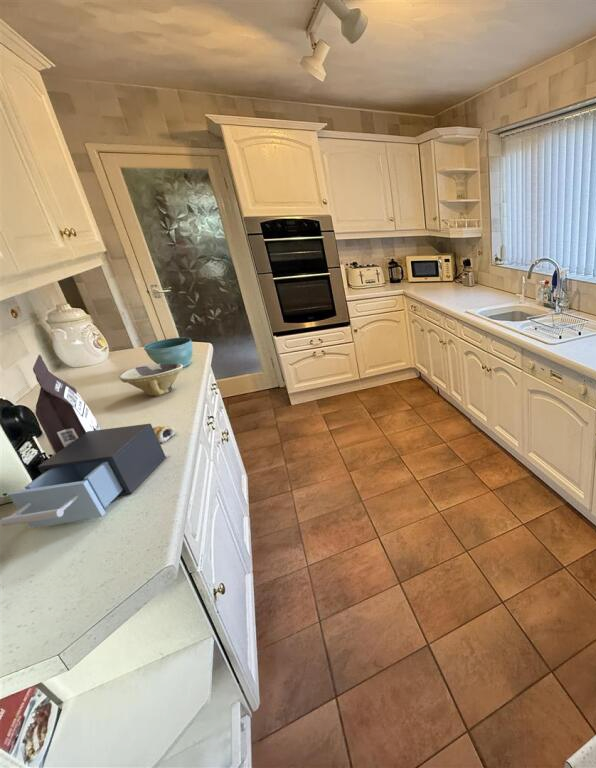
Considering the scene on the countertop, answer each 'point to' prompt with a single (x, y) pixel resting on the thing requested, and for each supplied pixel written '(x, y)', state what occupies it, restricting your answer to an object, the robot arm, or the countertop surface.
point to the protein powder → (61, 409)
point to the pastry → (163, 433)
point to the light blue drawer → (65, 495)
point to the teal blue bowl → (171, 351)
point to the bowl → (153, 377)
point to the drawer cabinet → (114, 453)
